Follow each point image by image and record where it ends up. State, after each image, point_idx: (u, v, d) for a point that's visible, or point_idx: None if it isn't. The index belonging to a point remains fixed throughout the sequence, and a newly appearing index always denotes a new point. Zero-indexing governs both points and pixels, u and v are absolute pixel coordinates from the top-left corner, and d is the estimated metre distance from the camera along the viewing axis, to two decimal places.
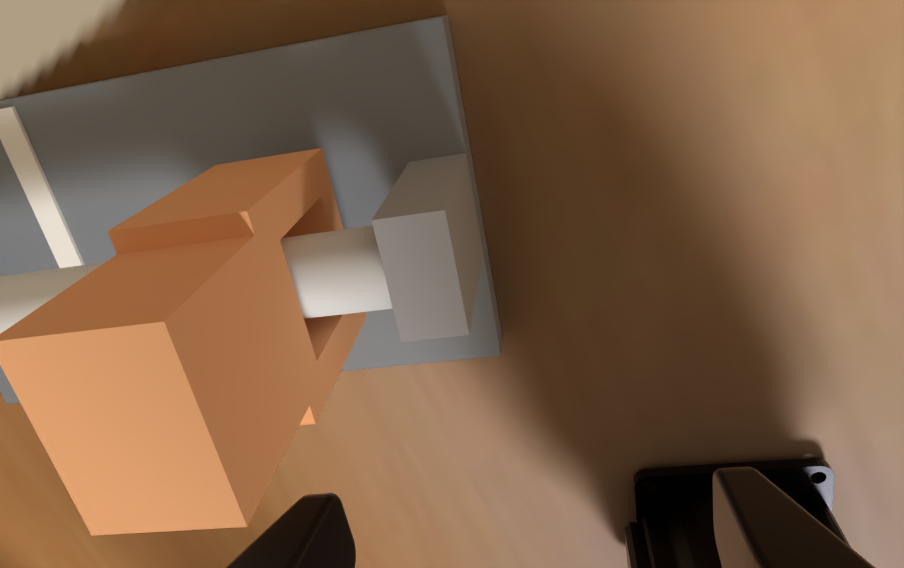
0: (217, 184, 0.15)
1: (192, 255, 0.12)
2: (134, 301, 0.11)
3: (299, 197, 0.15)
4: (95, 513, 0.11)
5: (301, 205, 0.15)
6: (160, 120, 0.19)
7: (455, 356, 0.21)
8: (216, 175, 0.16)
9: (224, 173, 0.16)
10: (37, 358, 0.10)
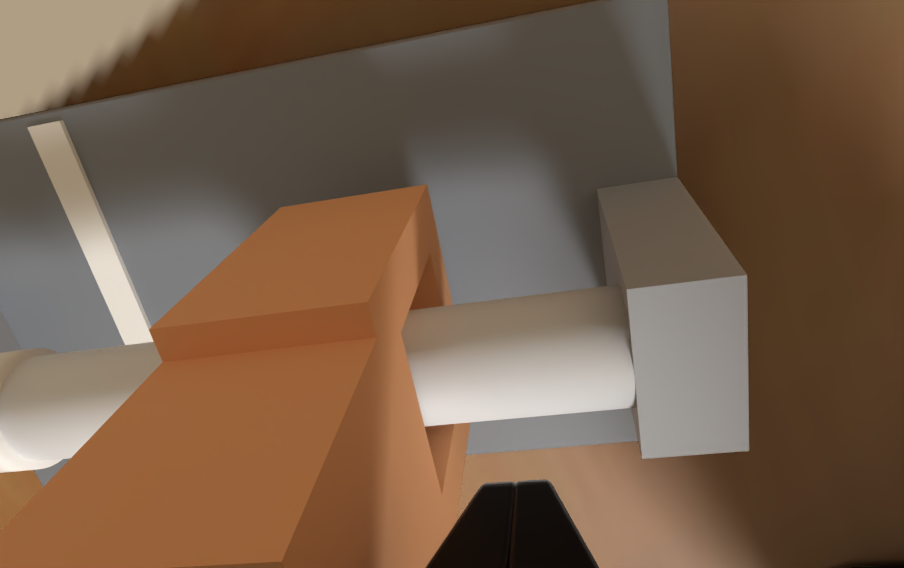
0: (296, 243, 0.11)
1: (286, 375, 0.08)
2: (211, 488, 0.06)
3: (413, 260, 0.11)
4: None
5: (415, 271, 0.11)
6: (258, 137, 0.14)
7: (629, 437, 0.16)
8: (288, 226, 0.12)
9: (299, 222, 0.12)
10: None
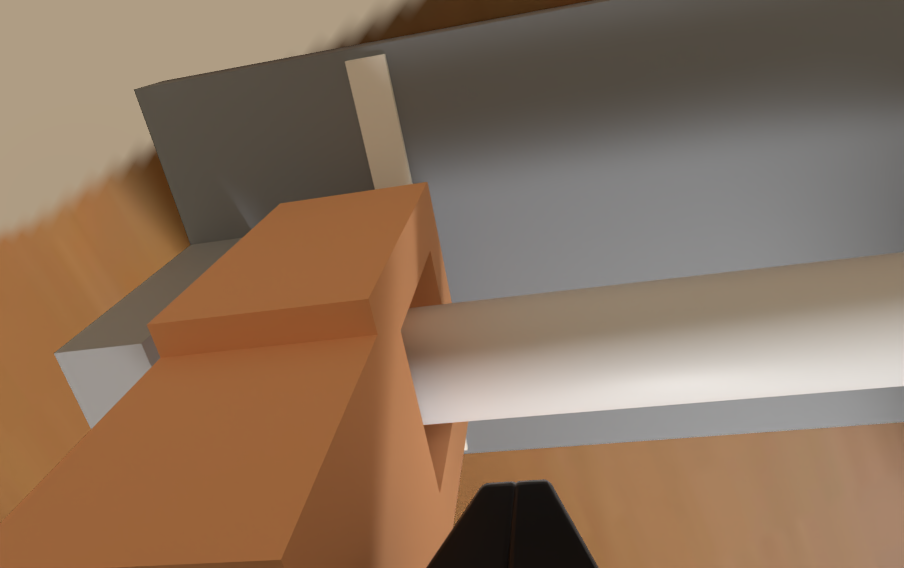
0: (296, 239, 0.11)
1: (286, 371, 0.08)
2: (209, 485, 0.06)
3: (413, 258, 0.11)
4: None
5: (415, 269, 0.11)
6: (610, 73, 0.13)
7: None
8: (288, 222, 0.12)
9: (298, 219, 0.12)
10: None
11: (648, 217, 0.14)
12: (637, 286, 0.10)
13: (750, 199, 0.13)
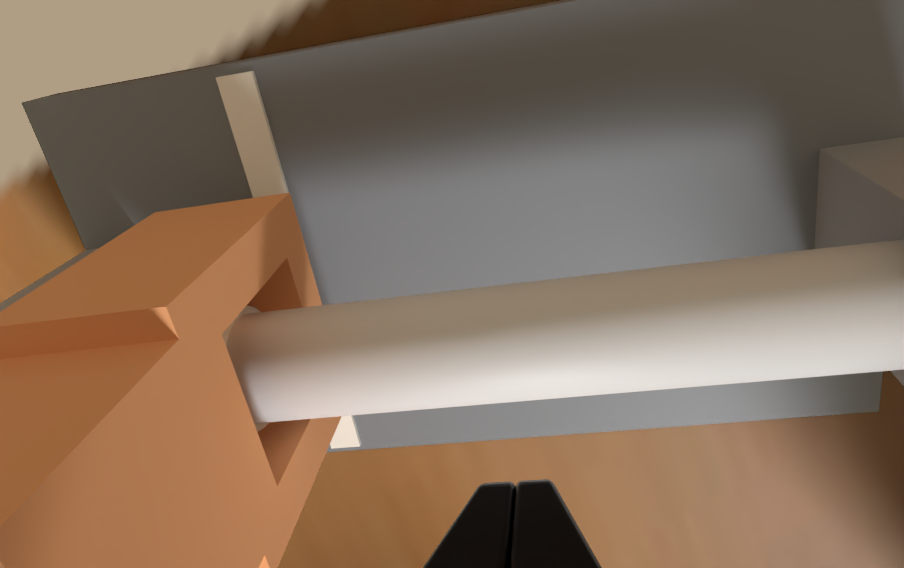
0: (145, 248, 0.11)
1: (84, 374, 0.08)
2: None
3: (254, 266, 0.11)
4: None
5: (257, 276, 0.11)
6: (463, 90, 0.13)
7: (812, 411, 0.16)
8: (149, 231, 0.12)
9: (160, 228, 0.12)
10: None
11: (511, 226, 0.14)
12: (459, 293, 0.11)
13: (603, 209, 0.14)
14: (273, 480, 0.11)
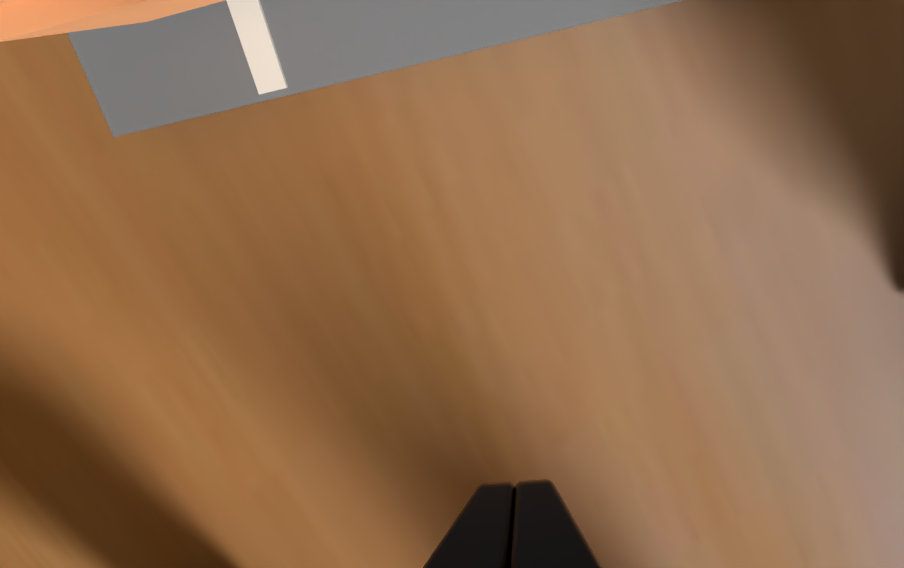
0: None
1: None
2: None
3: None
4: None
5: None
6: None
7: None
8: None
9: None
10: None
11: None
12: None
13: None
14: None
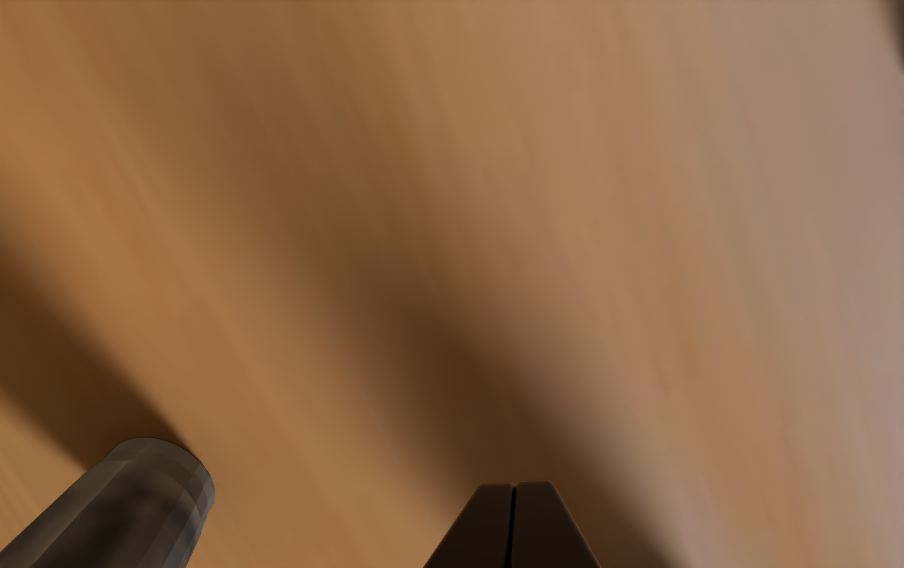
0: None
1: None
2: None
3: None
4: None
5: None
6: None
7: None
8: None
9: None
10: None
11: None
12: None
13: None
14: None
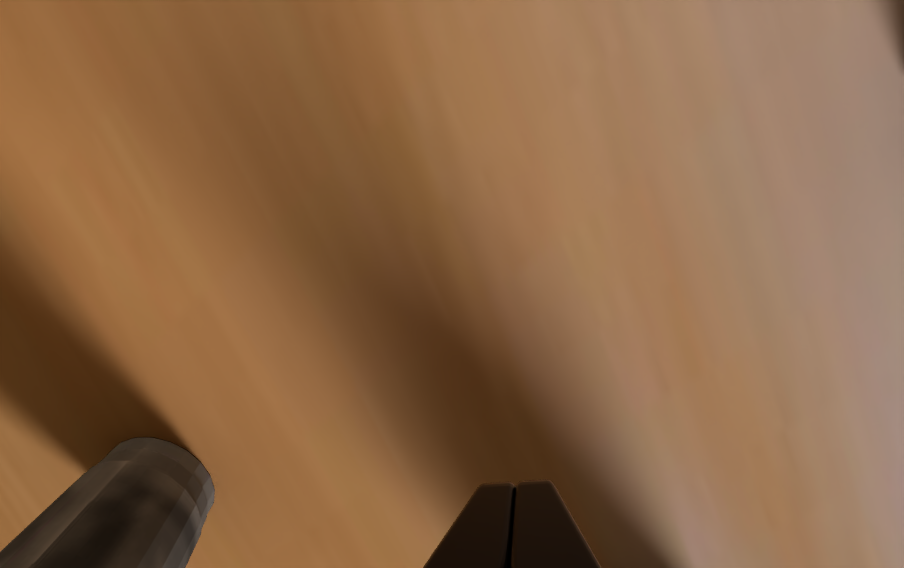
0: None
1: None
2: None
3: None
4: None
5: None
6: None
7: None
8: None
9: None
10: None
11: None
12: None
13: None
14: None
